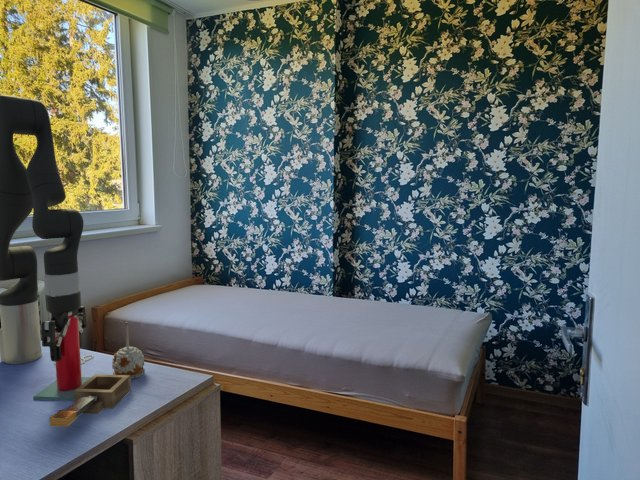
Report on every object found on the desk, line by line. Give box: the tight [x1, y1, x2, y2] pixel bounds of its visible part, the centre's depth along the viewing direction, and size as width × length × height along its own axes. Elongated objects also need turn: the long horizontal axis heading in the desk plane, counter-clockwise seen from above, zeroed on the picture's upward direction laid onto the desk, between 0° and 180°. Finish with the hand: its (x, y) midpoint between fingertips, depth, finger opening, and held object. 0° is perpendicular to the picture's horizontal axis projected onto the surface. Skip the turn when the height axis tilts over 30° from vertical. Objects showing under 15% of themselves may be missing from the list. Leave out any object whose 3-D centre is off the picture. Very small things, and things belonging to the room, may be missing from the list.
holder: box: [73, 373, 131, 415], centre depth 106 cm, size 9×12×4 cm
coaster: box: [32, 376, 92, 402], centre depth 112 cm, size 11×11×1 cm
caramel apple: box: [111, 321, 145, 380], centre depth 119 cm, size 8×8×15 cm
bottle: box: [54, 311, 83, 391], centre depth 110 cm, size 5×5×20 cm
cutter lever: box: [49, 396, 99, 428], centre depth 96 cm, size 12×4×2 cm, turn 178°
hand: (67, 353), depth 110 cm, fingers open, 8 cm apart
